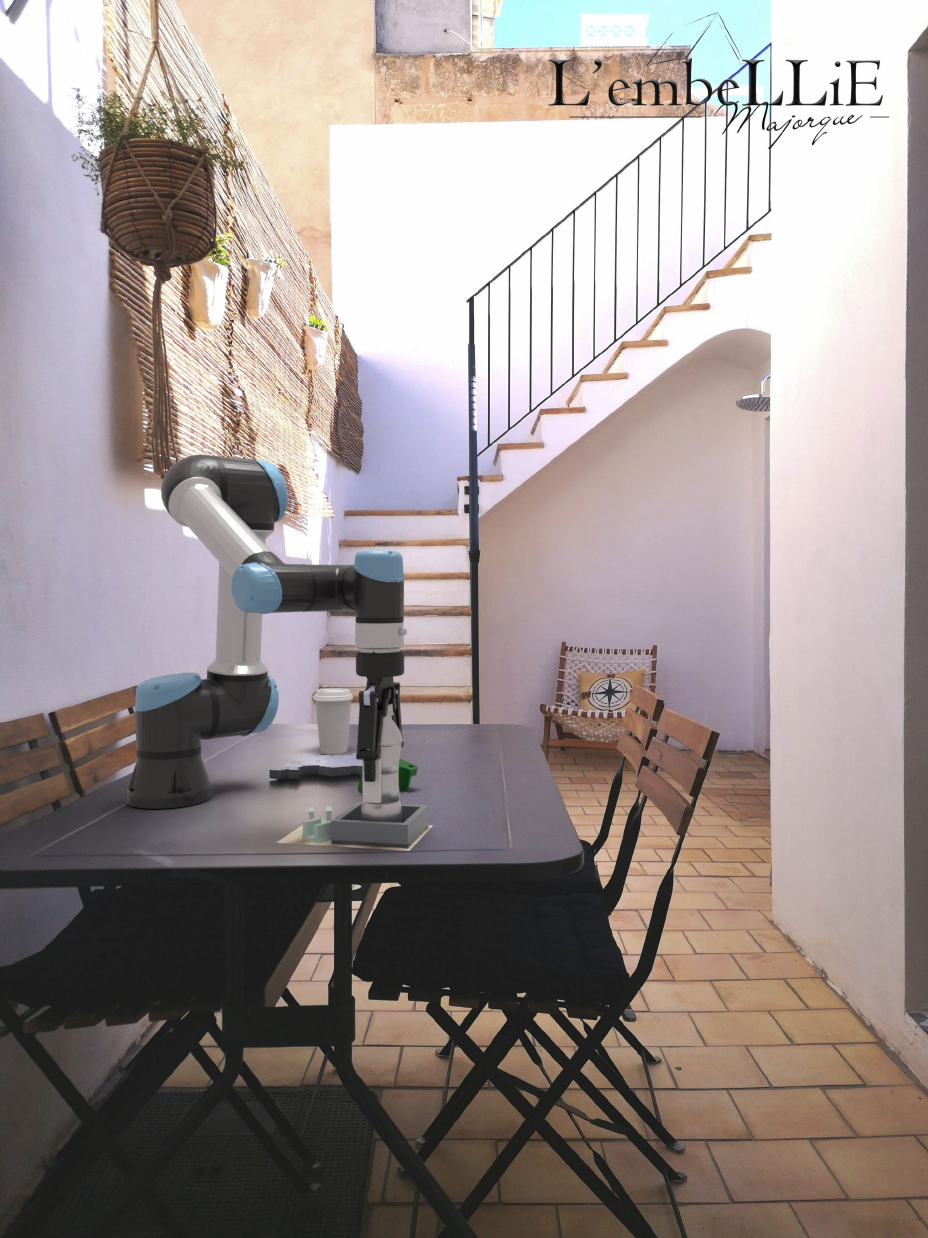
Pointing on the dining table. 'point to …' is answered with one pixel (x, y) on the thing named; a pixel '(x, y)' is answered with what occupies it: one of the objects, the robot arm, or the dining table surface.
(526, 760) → the dining table surface
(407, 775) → the clamp
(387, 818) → the plastic bottle
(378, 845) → the holder
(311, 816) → the clip
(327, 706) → the coffee cup
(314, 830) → the clip
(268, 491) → the robot arm
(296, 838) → the board
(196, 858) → the dining table surface
